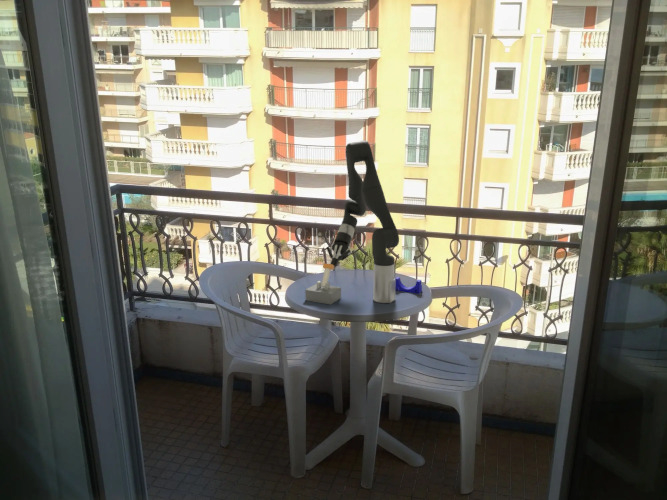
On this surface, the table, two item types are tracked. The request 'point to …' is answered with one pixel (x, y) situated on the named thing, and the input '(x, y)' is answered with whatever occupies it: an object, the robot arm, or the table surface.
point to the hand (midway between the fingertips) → (333, 266)
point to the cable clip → (414, 289)
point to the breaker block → (323, 293)
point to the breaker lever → (326, 273)
